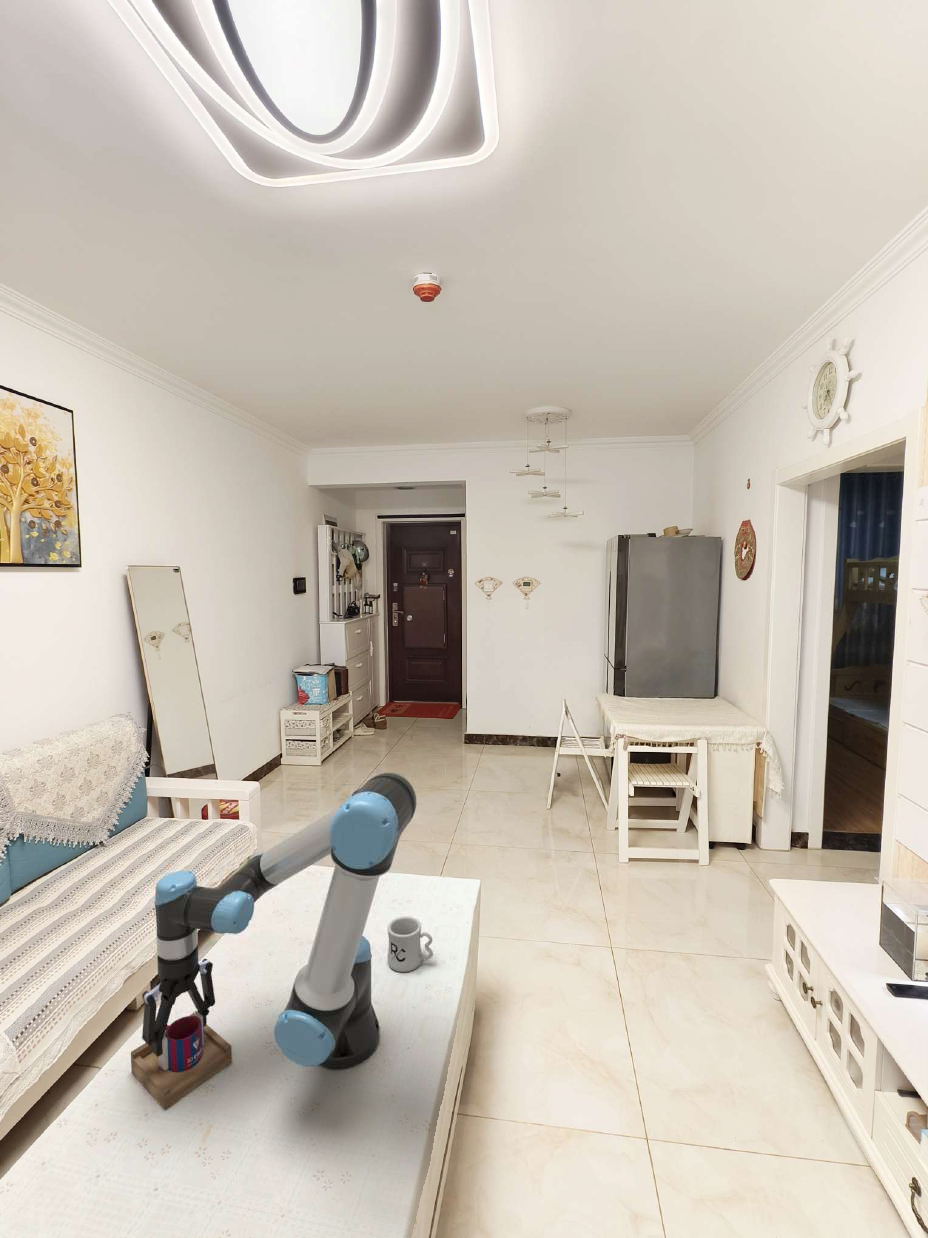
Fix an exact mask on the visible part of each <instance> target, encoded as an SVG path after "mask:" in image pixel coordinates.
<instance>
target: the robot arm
mask: <svg viewBox="0 0 928 1238" xmlns="http://www.w3.org/2000/svg"><path fill="white" fill-rule="evenodd" d="M416 810H417V795H416V791H415V789H414V787H413V785H412V783H410V782H409V780H408V779H407V778H405V777H404V776H402V775H400V774H398V773H394V772H383V773H379V774H377V775H374V776H372V778H370V779H369V780H367V782H366V783H365V784H364V785H362V786H361V787H360V788H358V789H356V790H355V791H353V792H352V793H351V795H350V797H349V798H347V799H346V800H345V801H344V802H343V803H342V804H341V805H340V806H338V807H336V808H334V809H333V810H332V811H330V812H328V813H327V814H325V815H324V816H322V817H320V818H318V819H317V820H315V821H313V822H312V823H310V824H308V825H307V826H306V827H303V828H302V829H300V830H299V831H298V832H297V831H296V832H295V833H294V834H292V835H291V836H289V837H287V838H286V839H285V840H284V839H283V840H282V841H281V842H279V843H278V844H276V845H274V846H273V847H272V848H269V849H268V850H266V851H263V852H260V853H258V854H256V855H254V856H253V857H252V858H251V859H249V860H248V861H246V863H245V864H244V865H243V866H242V867H241V868H240V869H238V870H237V871H236V872H235V873H234V874H232V875H231V876H230V877H229V878H228V879H226V881H224V882H223V883H221V885H220V886H219V887H217V888H215V887H214V888H213V887H205V886H201V885H200V886H198V885H197V883H198V881H197V878H196V877H197V876H196V875H195V873H194V872H192V871H188V870H178V871H174V872H173V871H172V872H170V873H168V874H165V875H164V876H163V877H161V878H160V879H159V880H158V881H157V882H156V885H155V897H154V908H155V910H154V911H155V922H156V953H157V957H156V959H157V962H156V963H157V976H158V980H157V982H156V985H155V987H154V988H153V989H151V990H150V991H148V990H145V991H144V992H143V993H142V994H141V997H142V999H143V1003H144V1008H143V1021H142V1033H141V1034H142V1036H141V1039H142V1040H143V1041H144V1042H145V1043H147V1044H148V1045H151V1044H152V1043H153V1052H154V1054H155V1055H156V1056H157V1057H158V1065H159V1066H160V1067H161V1068H162V1069H163V1070H164V1071H166V1070H167V1069H168V1043H167V1038H166V1037H165V1036H164V1034H165V1031H166V1027H167V1025H168V1023H169V1018H170V1015H171V1012H172V1008H173V1006H174V1005H175V1002H176V1001H177V998H178V997H180V996H181V995H182V994H185V993H188V995H189V998H190V999H191V1001H192V1003H193V1005H194V1007H195V1009H196V1010H195V1011H193V1012H192V1014H193V1016H196V1017H198V1018H200V1020H201V1023H202V1046H203V1045H204V1039H203V1027H205V1026H206V1024H207V1022H208V1021H207V1019H208V1018H207V1016H208V1015H209V1013H210V1010H209V1008H210V1007H213V1006H215V1004H216V997H215V990H214V983H213V977H212V976H213V975H212V971H213V966H214V963H213V962H211V961H210V959H209V960H208V959H207V958H203V959H202V961H201V962H199V945H198V943H199V939H198V938H199V937H198V930H203V931H209V932H213V933H217V934H221V935H222V934H230V935H231V934H233V935H237V934H241V933H242V932H243V931H245V930H246V929H247V927H248V926H249V923H250V921H251V920H252V918H253V915H254V911H255V903H256V902H257V900H259V899H260V898H261V897H262V896H263V895H264V894H266V893H267V892H270V890H272V889H274V888H276V887H277V886H278V885H280V884H282V883H283V882H285V881H287V880H288V879H291V878H292V877H293V876H295V875H297V874H298V873H300V872H303V870H306V869H307V868H309V867H311V866H312V865H314V864H315V863H317V862H319V861H321V860H323V859H324V858H326V857H328V856H329V855H330V858H331V861H332V862H333V864H334V865H335V866H334V869H333V872H332V875H331V880H330V884H329V886H328V890H327V893H326V897H325V900H324V904H323V907H322V911H321V915H320V917H319V923H318V925H317V929H316V933H315V937H314V940H313V944H312V948H311V951H310V954H309V958H308V960H307V961H308V962H307V964H306V965H304V966H302V967H301V969H299V970H298V972H297V974H296V975H295V979H294V983H293V986H292V989H291V993H290V996H289V999H288V1002H287V1004H286V1006H285V1009H284V1010H283V1011H281V1013H280V1014H279V1015H278V1016H277V1017H278V1018H277V1021H276V1022H275V1024H274V1030H273V1035H274V1041H275V1043H276V1046H277V1047H278V1048H279V1049H280V1051H281V1053H282V1054H283V1055H284V1056H285V1057H286V1058H287V1059H288V1060H290V1061H292V1062H293V1063H294V1064H297V1065H300V1066H303V1067H304V1066H305V1067H314V1066H318V1065H319V1066H321V1067H323V1068H325V1069H328V1070H335V1071H338V1070H339V1071H341V1070H342V1071H343V1070H348V1069H351V1068H354V1067H355V1068H356V1066H359V1065H361V1064H362V1063H364V1062H365V1061H367V1060H368V1059H369V1058H370V1057H372V1056H373V1054H374V1053H375V1052H376V1051H377V1048H378V1046H379V1043H380V1039H381V1038H380V1035H381V1033H380V1032H381V1029H380V1028H381V1027H380V1023H379V1020H378V1017H377V1014H376V1011H375V1010H374V1006H373V1004H372V957H373V955H372V952H371V951H372V950H371V949H372V948H371V944H370V941H369V939H367V938H366V937H365V936H363V935H364V931H365V928H366V924H367V922H368V921H367V920H368V917H369V914H370V911H371V907H372V904H373V900H374V897H375V894H376V889H377V886H378V884H379V880H380V877H381V876H384V875H386V874H387V873H388V872H389V871H390V870H391V867H392V864H393V860H394V857H395V854H396V850H397V848H398V844H399V841H400V839H401V836H402V834H403V832H404V831H405V829H406V828H407V826H408V825H409V823H410V822H411V821H412V820H413V818H414V815H415V813H416ZM199 973H200V982H201V988H202V995H203V998H202V995H201V994H200V992H199V989H198V986H197V984H196V982H195V980H196V978H197V977H198V974H199ZM160 993H161V995H160V1004H159V1008H158V1011H157V1002H158V1000H159V999H158V998H159V994H160ZM207 1025H208V1024H207Z"/></svg>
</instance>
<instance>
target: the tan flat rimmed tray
mask: <svg viewBox="0 0 928 1238" xmlns="http://www.w3.org/2000/svg"><path fill="white" fill-rule="evenodd" d="M189 1016H193V1013H191V1014H190V1015H189ZM165 1033H166V1030H165ZM164 1036H165V1037H166V1034H164ZM203 1039H204V1045H203V1046H202V1051H203V1053H202V1057H201V1059H200V1061H199V1062H198V1063H197V1064H196V1065H195V1066H193V1067H192V1068H190V1069H188V1070H186V1071H183V1072H172V1071H170V1070H169V1069H167V1070H166V1071H164V1070H163V1069H162V1068H161V1067H160V1066H159V1065H158V1057H157V1056H156V1055H155V1054H154V1052H153V1043H152V1044H151V1045H148V1044H147V1043H146V1042H145V1043H143V1044H141V1045H140V1046H138V1047H136V1048H135V1049H134V1050H131V1051H130V1064H131V1067H130V1068H131V1073H132V1075H133V1076H134V1077H135V1078H136V1079H137V1081H138V1082H139V1083H140V1084H141V1085H142V1086H143V1088H144V1089H146V1091H147V1092H148V1093H149V1094H150V1096H152V1097H153V1099H154V1100H155V1101H156V1102H157V1103H158V1104H159V1106H161V1108H162V1109H163V1110H164V1111H166V1110H167V1109H169V1108H170V1107H171V1106H174V1104H175V1103H177V1102H178V1101H180V1100H182V1099H183V1098H184V1097H185V1096H187V1095H188V1094H189V1093H191V1092H192V1091H194V1090H195V1089H197V1087H199V1086H201V1085H202V1084H203V1083H204V1082H206V1081H208V1080H209V1079H210V1078H211V1077H213V1076H214V1075H216V1074H217V1073H218V1072H220V1071H221V1070H223V1069H224V1068H225V1067H227V1066H228V1065H230V1063H232V1062H233V1056H232V1055H233V1052H232V1045H231V1044H230V1043H229V1042H228V1041H227V1040H226V1039H224V1038H223V1037H221V1035H220V1034H219V1033H217V1032H216V1031H215V1030H214V1029H213V1028H212V1027H211V1026H209V1025H208V1024H206V1026H205V1027H203Z"/></svg>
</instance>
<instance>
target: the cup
mask: <svg viewBox="0 0 928 1238" xmlns="http://www.w3.org/2000/svg"><path fill="white" fill-rule="evenodd" d="M165 1031H166V1033H165V1034H166V1038H167V1043H168V1069H169V1070H170V1071H172V1072H183V1071H186V1070H188V1069H190V1068H192V1067H193V1066H195V1065H196V1064H197V1063H198V1062H199V1061H200V1059H201V1057H202V1053H203V1051H202V1023H201V1020H200V1018H198V1017H196V1016H190V1015H187V1016H182V1017H180V1018H177V1019H176V1020H174V1021H173V1022H171V1024H167V1027H166V1030H165Z"/></svg>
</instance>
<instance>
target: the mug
mask: <svg viewBox="0 0 928 1238" xmlns="http://www.w3.org/2000/svg"><path fill="white" fill-rule="evenodd" d="M387 935H388V936H387V937H388V950H387V957H386V958H387V960H386V961H387V964H388V966H389V967H390V968H391V969H392V970H393V971H396V972H401V973H406V972H411V971H414V970H415V969H417V968H418V967H419V965H421V963H422V960H430V959H431V958H432V957H433V955H434V954H433V953H434V952H433V950H432V949H431V947H430V945H432V943H433V936H432V935H431V934H430V933H429V932H427V931H423V932H422V923H421V921H420V920H419V919H417V918H416V917H413V916H400V917H396V918H394V919H392V920H391V921H390V922H389V923H388V925H387ZM423 937H427V939H428V941H427V942H426V943H425V944H424V948H425V951H427V952H428V953H429V954H427V955H425V954H424V953H423V952H422V948H421V938H423Z"/></svg>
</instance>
